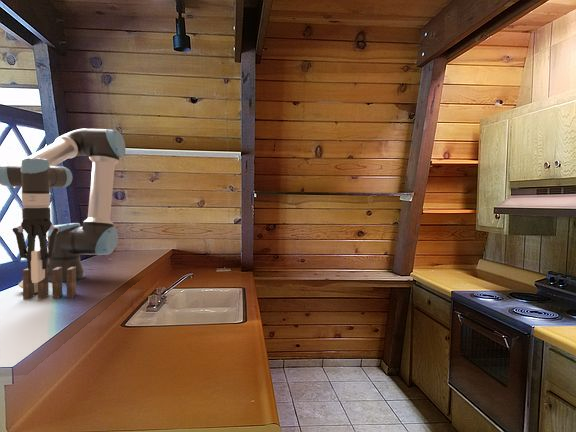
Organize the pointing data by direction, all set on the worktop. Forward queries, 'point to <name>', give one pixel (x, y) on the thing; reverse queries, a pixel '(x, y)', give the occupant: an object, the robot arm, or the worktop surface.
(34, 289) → the seashell
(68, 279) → the domino
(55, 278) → the domino
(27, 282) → the domino
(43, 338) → the worktop surface
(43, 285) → the domino
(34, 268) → the domino
